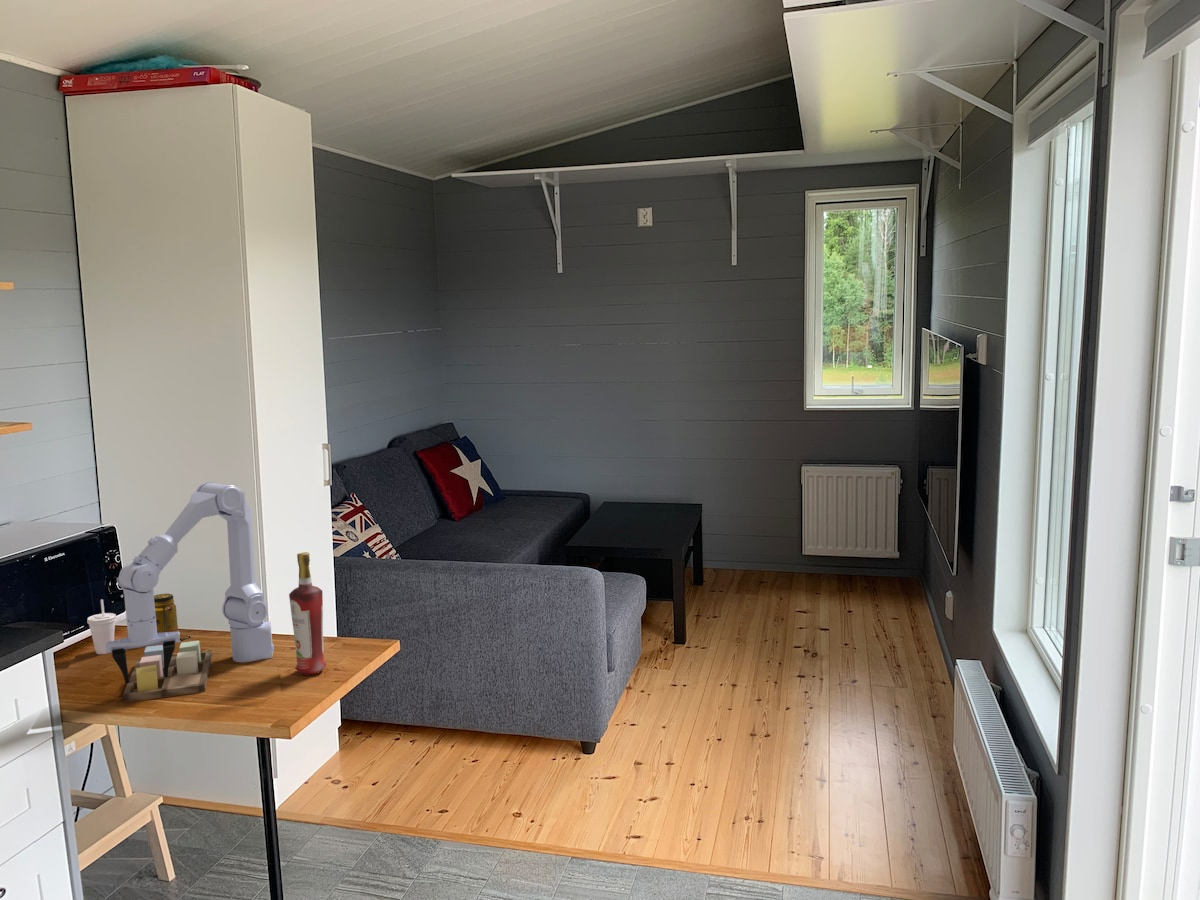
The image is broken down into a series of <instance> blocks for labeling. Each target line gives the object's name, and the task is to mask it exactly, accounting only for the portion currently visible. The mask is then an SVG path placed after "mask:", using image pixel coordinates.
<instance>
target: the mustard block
mask: <svg viewBox="0 0 1200 900" xmlns="http://www.w3.org/2000/svg"><path fill="white" fill-rule="evenodd" d="M136 677H137V688H138V692H139V691H146V690H154V689H158V680H157V669H156V665H153V666H146V667H140V668H136Z"/></svg>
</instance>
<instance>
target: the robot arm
mask: <svg viewBox="0 0 1200 900" xmlns="http://www.w3.org/2000/svg"><path fill="white" fill-rule="evenodd" d="M245 494H246V493H245V491H244V490H242V489H241V488H239V487H238V486H236V485H233V484H220V483H213V482H210V481H209V482H208V481H207V482H204V483H201V484H200V485H199V486H198V487H197V489H196V490H195V491H194V492H193V493H191V495H190V498H189V500H188V501H189V502H188V503H187V504H186V506H185V507H184V509H182V511H181V512H180V513H179V515H178V516H177V517H176V518H175V520H174V521H173V522H172V524H171V525H170V526H169V527H168V529H167V531H166V532H165V533H164V534H160V535H159V534H158V535H156V536H154V537H153V538H152V537H151V538H149V540H148V541H147V543H148V544H147V545H146V546H145V547H144V549H143V550H141V552H140V553H139V555H138V556H135V557H133V559H132V560H133V562H131V563H127V564H126V565H124V566H123V567H122V568H121V569H120V571H119V575H118V577H117V578H116V583H117V584H118V586H119V587H120V588H121V589H122V590H123V591H122V592H123V596H124V605H125V606H124V607H125V615H126V616H125V618H126V628H127V636H128V637H124V638H119V639H116V640H115V639H114V641H110V642H106V653H107V654H111V657H112V658H113V660H114V661H115V663H116V664H117V665H118V668H119V669H120V671H121V673H122V675H123V678H124V684H128V683H129V679H130V675H129V670H128V664H127V651H126V650H130V649H137V648H143V647H144V648H146V647H148V646H157V645H163V654H164V676H165V677H167V676H168V668H169V664H170V660H171V657H172V655H174V651H175V649H176V643H181V640H180V634H181V633H180V631H179V630H178V631H177V632H165V633H157V624H156V614H155V603H154V596H155V594H154V593H155V592H154V588H155V587H156V586H157V585H158V582H159V576H160V574H161V572H162V571H163V570H164V568H165V567H166V565H168V564H169V562H170V561H171V560H172V559H173V558H174V556H175V555H176V554H177V553H178V551H179V550H178V549H179V548H178V547H179V546H178V543H180V542H181V541H182V540H183V538H185V536H187V534H189V532H190V531H192V530H193V529H194V527H195V526H196V525H197V524H198V523H200V521H201V520H202V519H204V518H209V517H213V516H220V517H221V518H223V520H225V521H226V524H227V525H226V526H227V540H228V541H227V542H228V543H227V544H228V558H229V577H230V578H229V579H230V582H229V583H230V586H229V587H227V589H226V591H225V592H224V601H223V604H222V610H221V611H222V615H223V617H224V618H226V619H227V620H228V624H229V628H230V644H231V655H232V661H234V662H237V663H248V662H254V661H260V660H267V659H268V660H269V659H273V655H274V652H275V646H274V645H275V644H274V643H273V633H272V624H271V623H272V622H271V621H265V620H266V618H267V616H268V605H267V602H265V597H264V592H263V591H262V590H261V589H260V587H258V585H257V583H256V578H255V577H256V576H255V575H256V574H255V572H256V571H255V555H254V554H255V553H254V539H253V538H254V536H253V517H252V509H251V508H250V506H249V504H248V502H247V501H246V495H245Z"/></svg>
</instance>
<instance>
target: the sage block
mask: <svg viewBox="0 0 1200 900" xmlns="http://www.w3.org/2000/svg"><path fill="white" fill-rule="evenodd" d="M200 645H201V643H200V640H192V641H183V642H180V645H179V653H180V652H189V651H197V660H198V662H201V655H200V652H201V646H200Z"/></svg>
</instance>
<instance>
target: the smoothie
mask: <svg viewBox="0 0 1200 900" xmlns="http://www.w3.org/2000/svg"><path fill="white" fill-rule="evenodd" d="M100 609H101V613H99V614H98V613H97V614H93V615H91V616H88V617H87V620H86V621H87V622H86V623H87V624H88V626H89V629H90V634H91V637H92V642H93V645H94V651H95V654H97V655H105V654H108V653H106V642H110V641H115V627H116V626H115V625H116V620H117V614H116V613H113V612H105V605H104V599H102V598H101V599H100Z"/></svg>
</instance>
